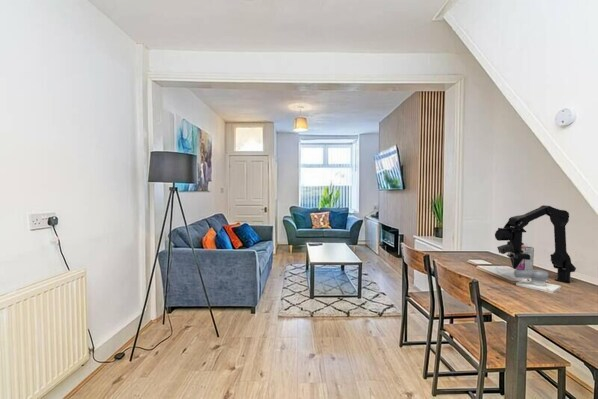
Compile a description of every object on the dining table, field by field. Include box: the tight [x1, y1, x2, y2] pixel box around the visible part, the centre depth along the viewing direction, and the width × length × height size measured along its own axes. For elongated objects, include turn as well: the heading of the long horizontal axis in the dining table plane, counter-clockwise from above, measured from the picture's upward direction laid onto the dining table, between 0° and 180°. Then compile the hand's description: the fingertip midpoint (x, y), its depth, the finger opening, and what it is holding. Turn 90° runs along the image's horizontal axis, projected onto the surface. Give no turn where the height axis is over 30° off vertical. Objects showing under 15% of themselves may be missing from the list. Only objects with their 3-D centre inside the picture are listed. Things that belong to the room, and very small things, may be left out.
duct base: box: [515, 278, 562, 294], centre depth 174 cm, size 13×16×4 cm
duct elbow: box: [513, 268, 549, 282], centre depth 174 cm, size 15×8×4 cm, turn 83°
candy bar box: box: [515, 243, 535, 270], centre depth 202 cm, size 11×5×16 cm, turn 168°
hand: (514, 268), depth 182 cm, fingers closed
